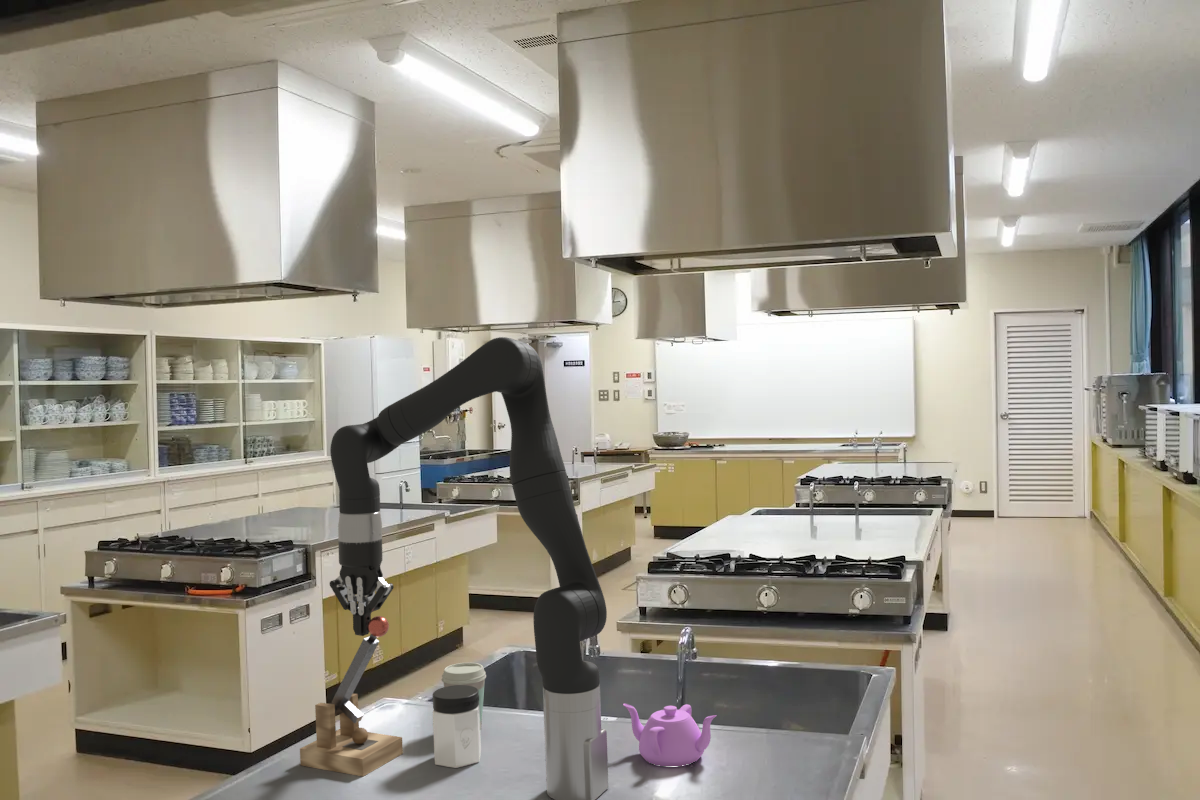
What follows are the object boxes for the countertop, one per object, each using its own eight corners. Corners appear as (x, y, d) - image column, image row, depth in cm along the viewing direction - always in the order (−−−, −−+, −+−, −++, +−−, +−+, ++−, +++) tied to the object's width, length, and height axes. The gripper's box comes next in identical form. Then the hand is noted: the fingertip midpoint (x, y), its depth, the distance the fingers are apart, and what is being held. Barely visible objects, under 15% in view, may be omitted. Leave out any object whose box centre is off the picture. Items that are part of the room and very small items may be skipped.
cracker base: (402, 753, 178) (400, 696, 178) (363, 776, 168) (360, 715, 168) (342, 743, 184) (339, 688, 184) (300, 765, 174) (298, 706, 174)
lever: (361, 725, 178) (410, 632, 172) (345, 733, 174) (395, 638, 168) (336, 702, 180) (383, 609, 175) (320, 709, 176) (367, 614, 171)
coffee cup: (497, 726, 191) (494, 664, 190) (469, 740, 183) (466, 676, 183) (463, 719, 195) (460, 659, 195) (434, 733, 188) (431, 671, 188)
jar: (444, 772, 169) (441, 702, 168) (425, 758, 175) (422, 691, 175) (491, 759, 174) (488, 692, 173) (471, 746, 180) (468, 681, 180)
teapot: (719, 765, 167) (717, 714, 167) (639, 775, 164) (637, 722, 164) (698, 741, 179) (696, 692, 179) (624, 749, 176) (622, 700, 176)
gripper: (403, 536, 174) (405, 633, 175) (345, 531, 180) (346, 625, 180) (376, 543, 167) (378, 644, 168) (316, 538, 173) (318, 635, 174)
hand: (362, 634), depth 174 cm, fingers closed
